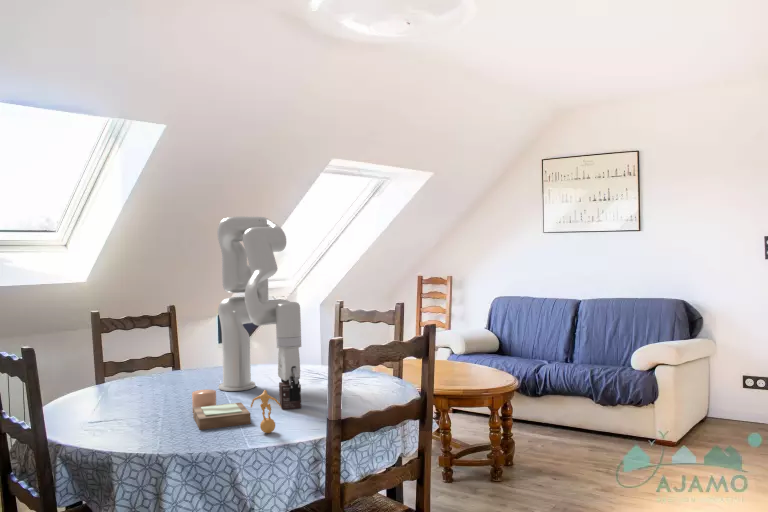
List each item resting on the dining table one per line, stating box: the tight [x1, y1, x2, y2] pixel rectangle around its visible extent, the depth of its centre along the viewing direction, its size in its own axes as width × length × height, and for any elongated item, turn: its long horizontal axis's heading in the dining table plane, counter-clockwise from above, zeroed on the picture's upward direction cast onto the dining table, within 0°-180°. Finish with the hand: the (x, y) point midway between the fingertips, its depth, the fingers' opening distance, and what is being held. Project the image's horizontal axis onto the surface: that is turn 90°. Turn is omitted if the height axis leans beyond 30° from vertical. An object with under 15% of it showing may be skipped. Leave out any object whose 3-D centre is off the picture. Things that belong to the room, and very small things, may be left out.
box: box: [278, 382, 302, 411], centre depth 213 cm, size 6×6×7 cm
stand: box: [192, 401, 252, 431], centre depth 198 cm, size 14×14×3 cm
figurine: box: [250, 389, 281, 434], centre depth 184 cm, size 8×6×12 cm
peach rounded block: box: [191, 389, 217, 411], centre depth 209 cm, size 7×7×6 cm
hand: (290, 397), depth 213 cm, fingers open, 9 cm apart
